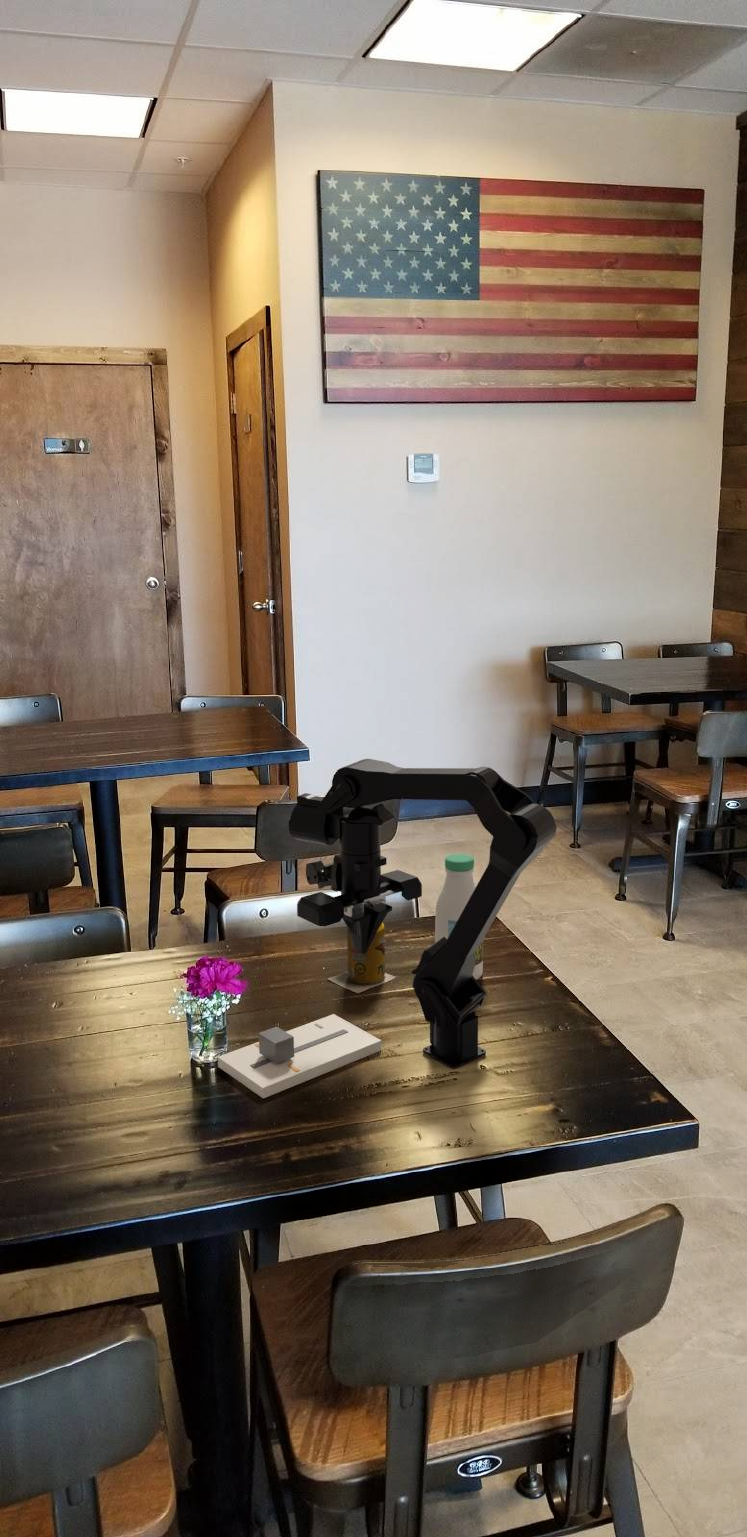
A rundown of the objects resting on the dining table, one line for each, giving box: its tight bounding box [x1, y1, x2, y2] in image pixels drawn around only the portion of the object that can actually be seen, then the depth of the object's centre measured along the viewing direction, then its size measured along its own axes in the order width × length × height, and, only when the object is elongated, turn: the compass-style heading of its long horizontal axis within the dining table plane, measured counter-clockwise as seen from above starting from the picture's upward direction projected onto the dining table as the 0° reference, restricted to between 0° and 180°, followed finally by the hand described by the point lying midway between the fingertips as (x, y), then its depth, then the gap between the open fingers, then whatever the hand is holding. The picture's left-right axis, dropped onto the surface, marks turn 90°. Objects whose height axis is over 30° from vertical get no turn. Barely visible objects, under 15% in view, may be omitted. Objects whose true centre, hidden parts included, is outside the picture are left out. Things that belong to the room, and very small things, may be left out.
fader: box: [258, 1026, 294, 1064], centre depth 153 cm, size 4×3×3 cm
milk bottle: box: [434, 853, 484, 980], centre depth 181 cm, size 8×8×20 cm
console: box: [217, 1013, 382, 1099], centre depth 157 cm, size 11×20×2 cm, turn 129°
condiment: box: [327, 921, 397, 994], centre depth 181 cm, size 7×8×12 cm
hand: (361, 953), depth 162 cm, fingers closed
